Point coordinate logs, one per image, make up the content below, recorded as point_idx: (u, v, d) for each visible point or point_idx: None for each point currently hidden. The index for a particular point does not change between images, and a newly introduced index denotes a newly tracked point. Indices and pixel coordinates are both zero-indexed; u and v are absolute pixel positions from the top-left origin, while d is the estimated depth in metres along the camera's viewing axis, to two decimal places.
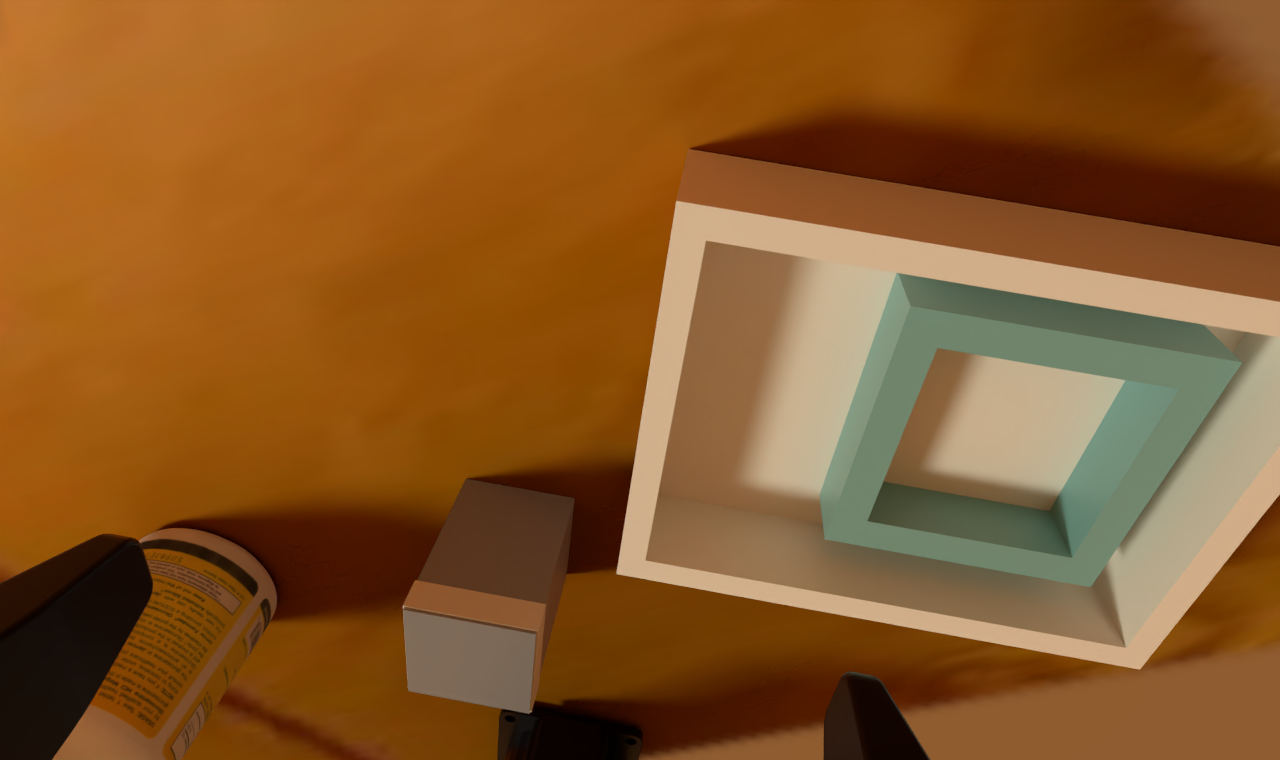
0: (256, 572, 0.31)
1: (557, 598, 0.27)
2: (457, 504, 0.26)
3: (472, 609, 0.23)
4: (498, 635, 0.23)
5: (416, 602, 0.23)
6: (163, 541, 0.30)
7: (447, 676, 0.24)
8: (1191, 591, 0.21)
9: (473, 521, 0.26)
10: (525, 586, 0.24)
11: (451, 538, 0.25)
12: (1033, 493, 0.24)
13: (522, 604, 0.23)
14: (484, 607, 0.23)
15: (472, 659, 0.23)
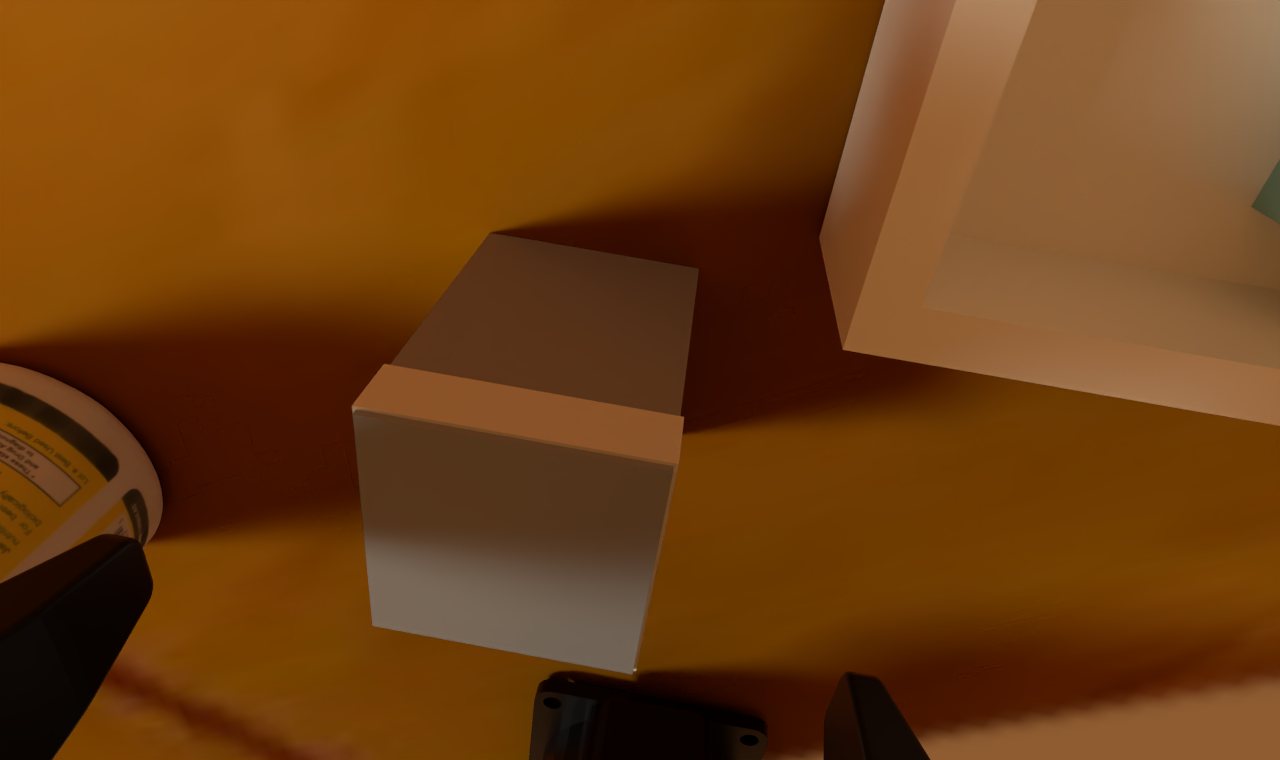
0: (116, 441, 0.17)
1: None
2: (475, 262, 0.13)
3: (518, 419, 0.10)
4: (580, 477, 0.09)
5: (385, 401, 0.10)
6: None
7: (456, 589, 0.11)
8: None
9: (509, 285, 0.13)
10: (632, 387, 0.11)
11: (464, 306, 0.12)
12: None
13: (633, 415, 0.10)
14: (545, 416, 0.10)
15: (514, 545, 0.10)
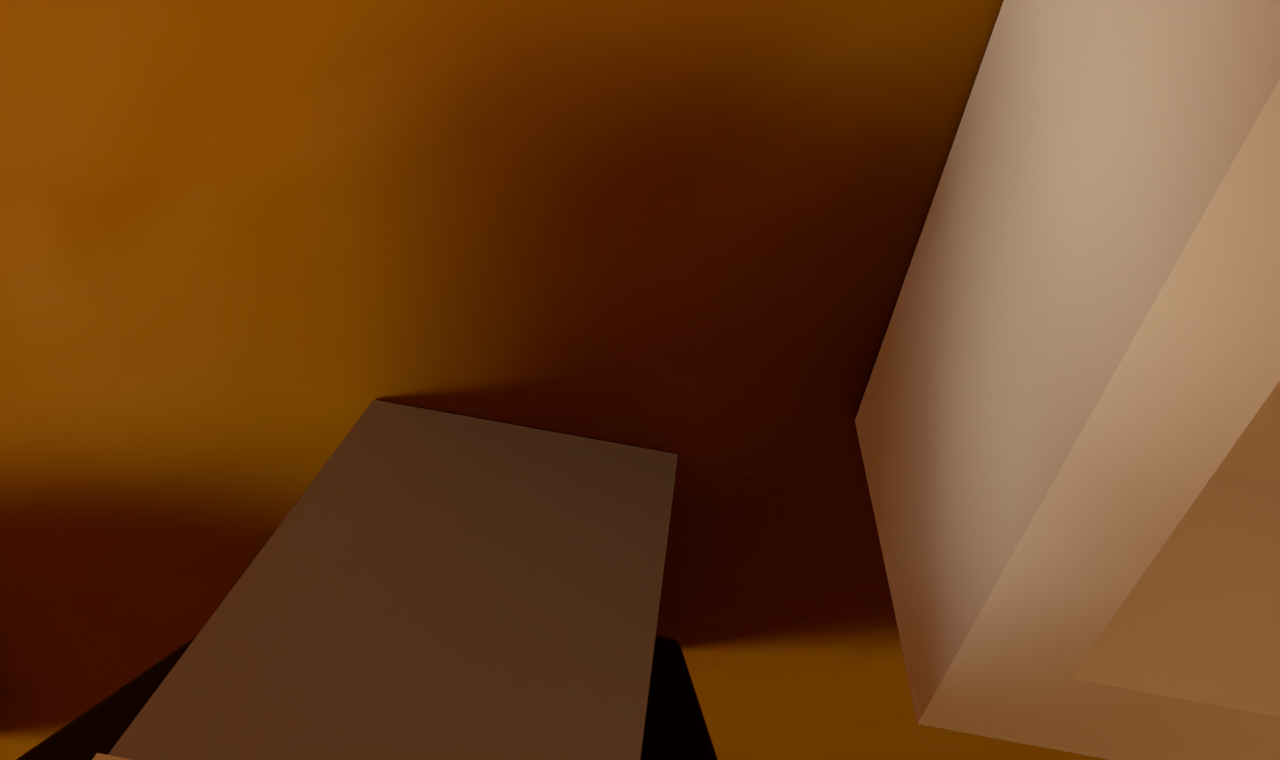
0: None
1: None
2: (335, 467, 0.09)
3: None
4: None
5: None
6: None
7: None
8: None
9: (378, 516, 0.08)
10: None
11: (292, 574, 0.07)
12: None
13: None
14: None
15: None
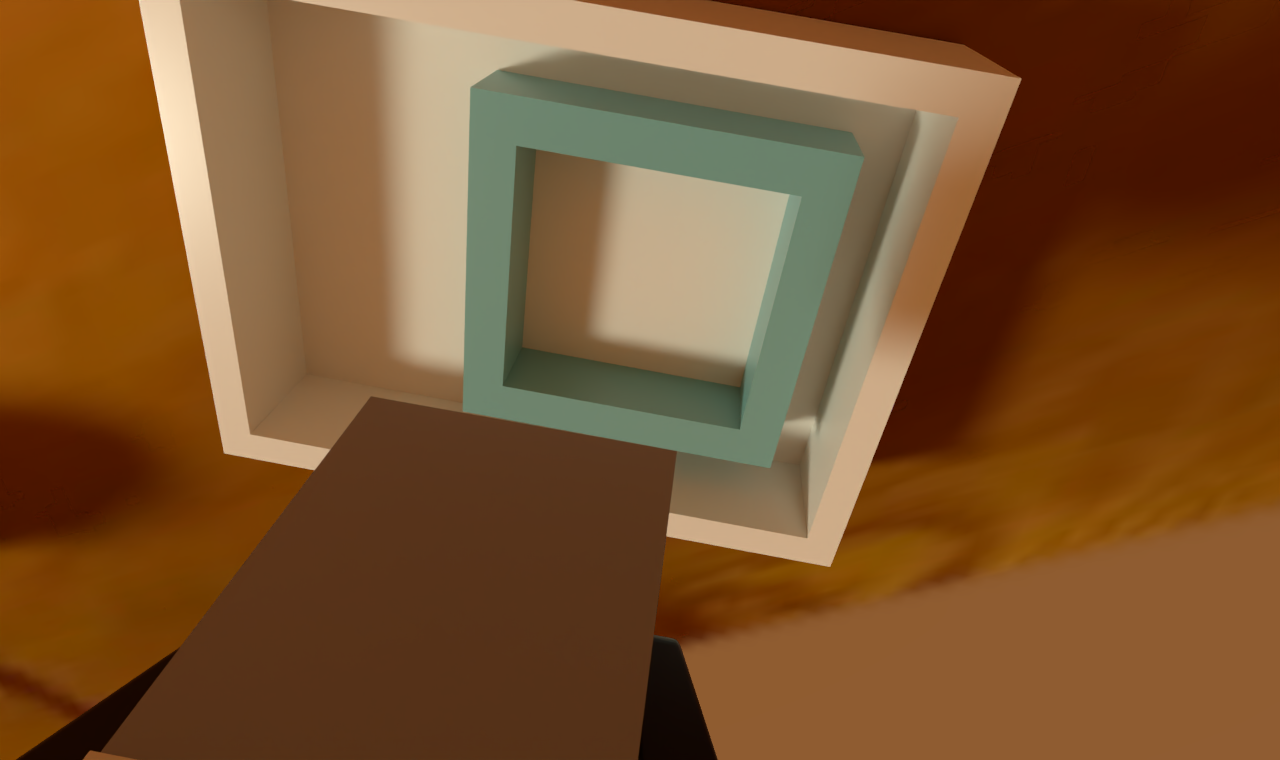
0: None
1: None
2: (332, 463, 0.09)
3: None
4: None
5: None
6: None
7: None
8: (860, 461, 0.18)
9: (375, 513, 0.08)
10: None
11: (288, 571, 0.07)
12: (718, 365, 0.20)
13: None
14: None
15: None
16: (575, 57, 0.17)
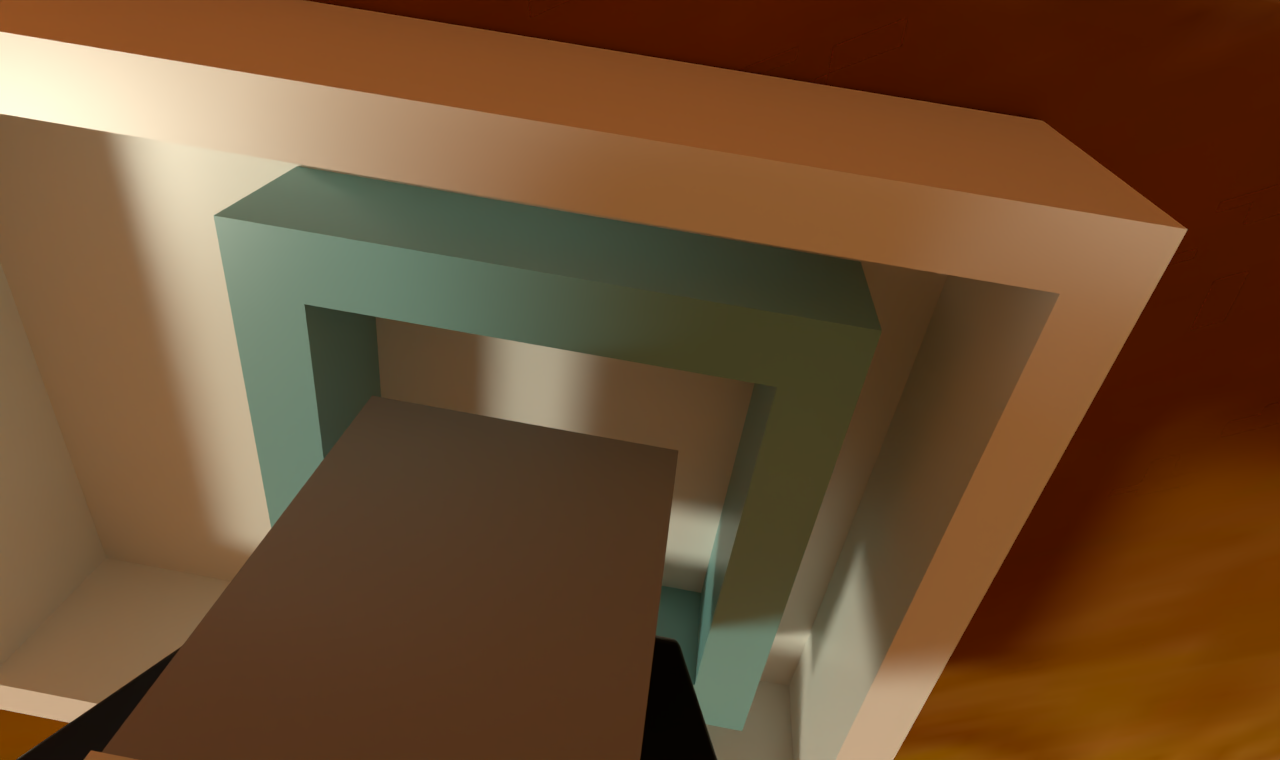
0: None
1: None
2: (333, 463, 0.09)
3: None
4: None
5: None
6: None
7: None
8: (875, 758, 0.11)
9: (376, 512, 0.08)
10: None
11: (289, 570, 0.07)
12: (668, 565, 0.14)
13: None
14: None
15: None
16: None
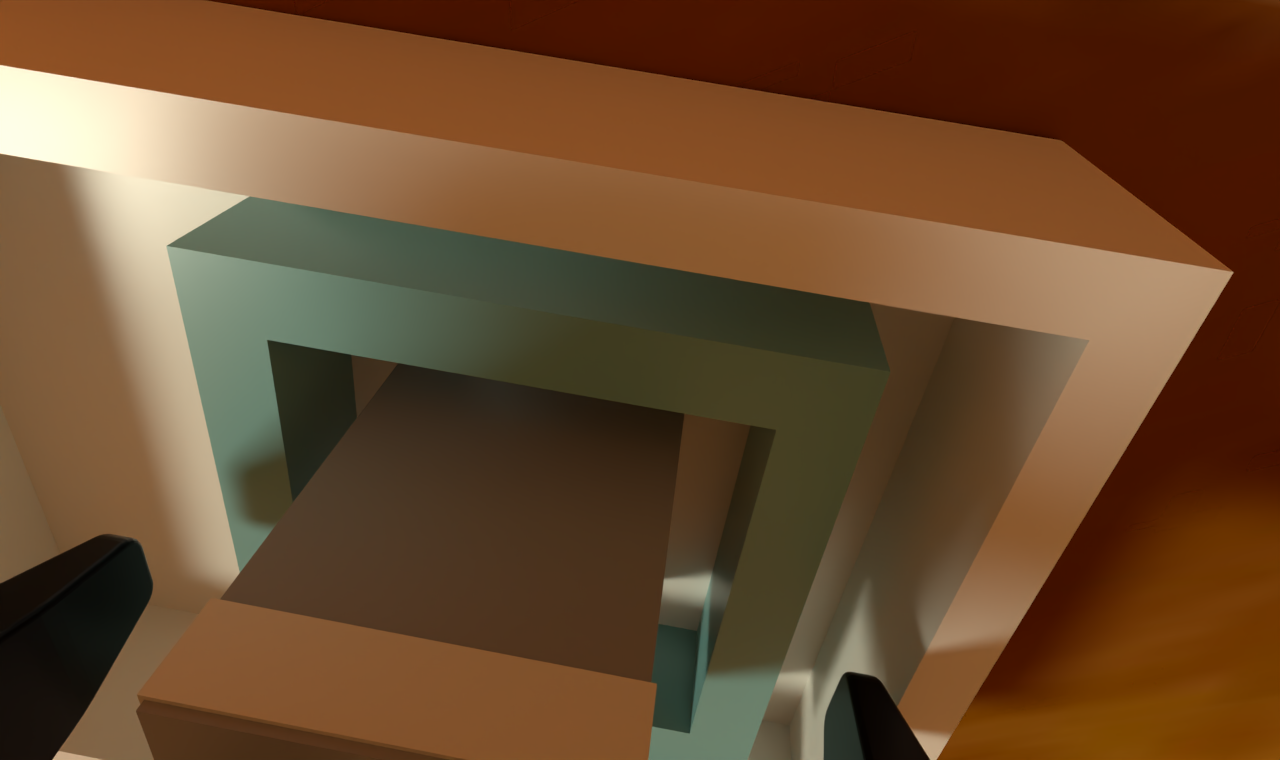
0: None
1: None
2: (386, 392, 0.10)
3: (399, 707, 0.06)
4: None
5: (194, 681, 0.06)
6: None
7: None
8: None
9: (427, 432, 0.09)
10: (582, 620, 0.07)
11: (357, 474, 0.09)
12: (662, 602, 0.13)
13: (578, 686, 0.07)
14: (444, 698, 0.06)
15: None
16: None
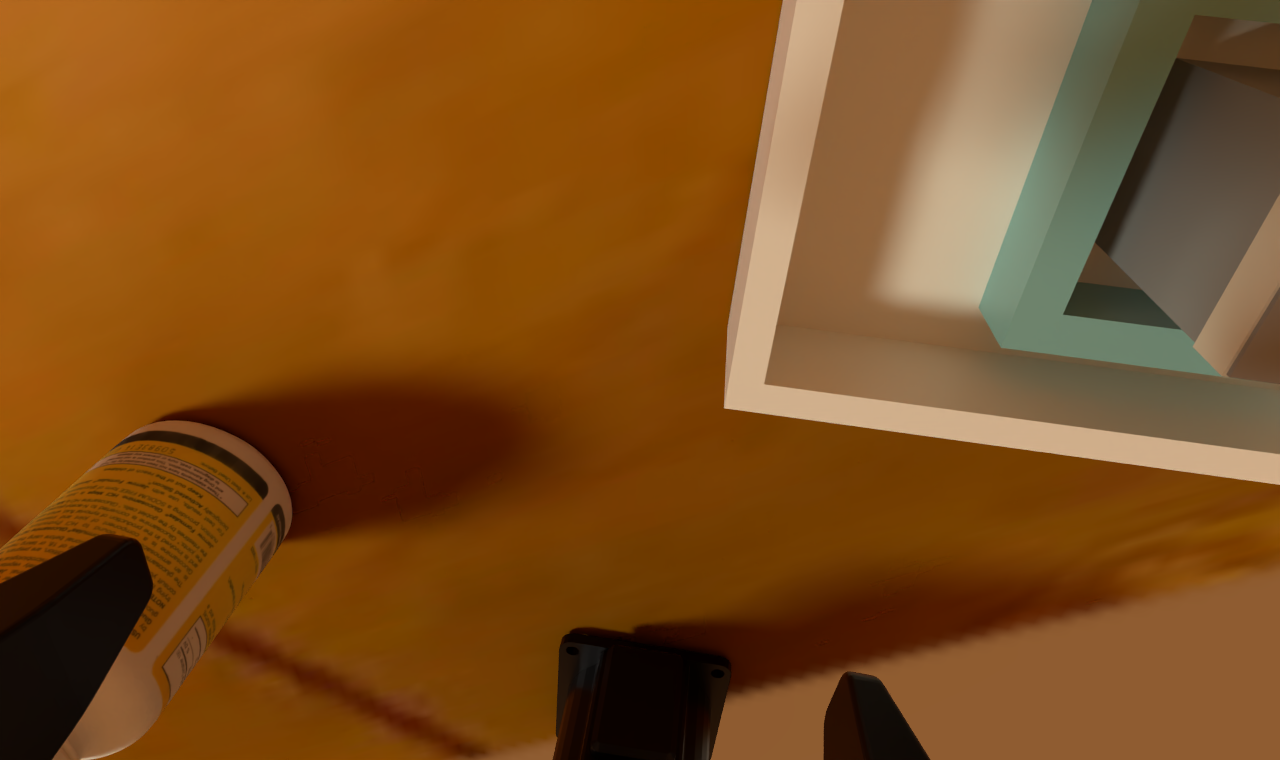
0: (265, 471, 0.25)
1: None
2: (1214, 71, 0.14)
3: None
4: None
5: None
6: (152, 433, 0.24)
7: None
8: None
9: (1276, 83, 0.14)
10: None
11: None
12: None
13: None
14: None
15: None
16: None
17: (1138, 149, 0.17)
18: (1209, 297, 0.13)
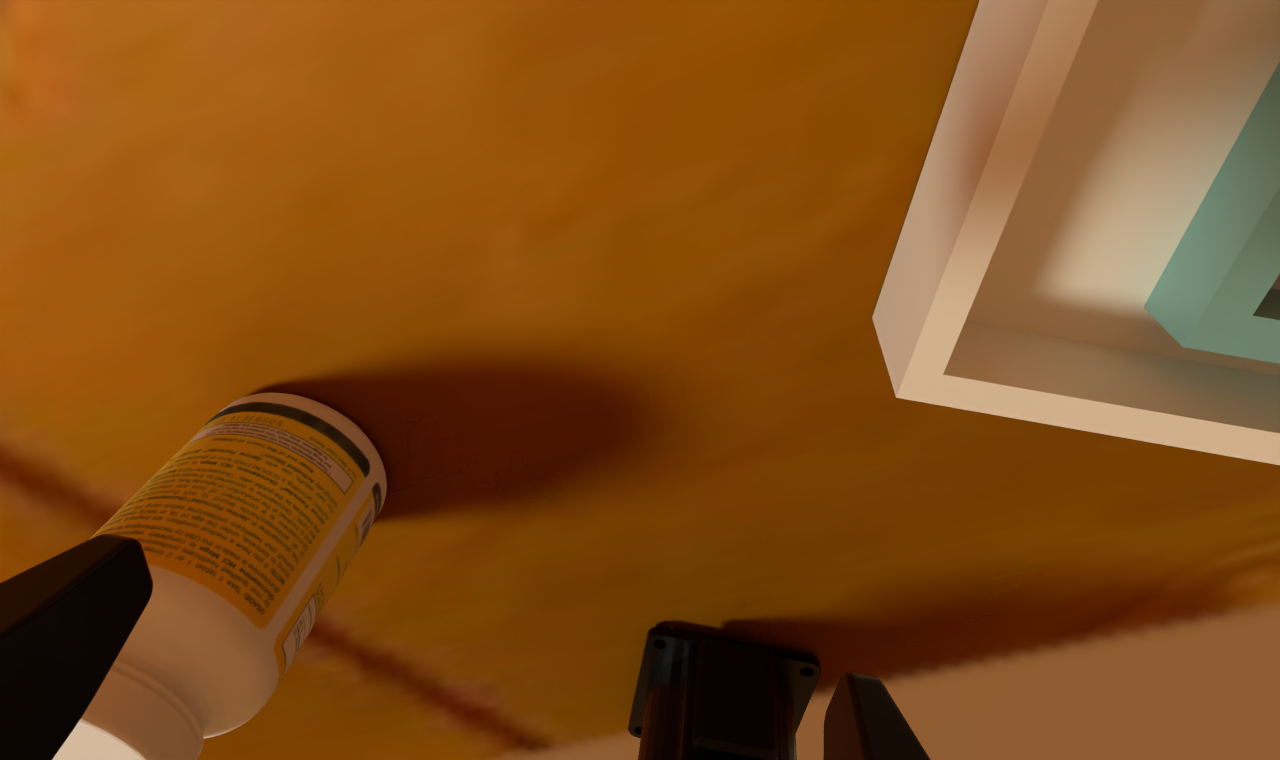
0: (367, 449, 0.25)
1: None
2: None
3: None
4: None
5: None
6: (256, 404, 0.24)
7: None
8: None
9: None
10: None
11: None
12: None
13: None
14: None
15: None
16: None
17: None
18: None
